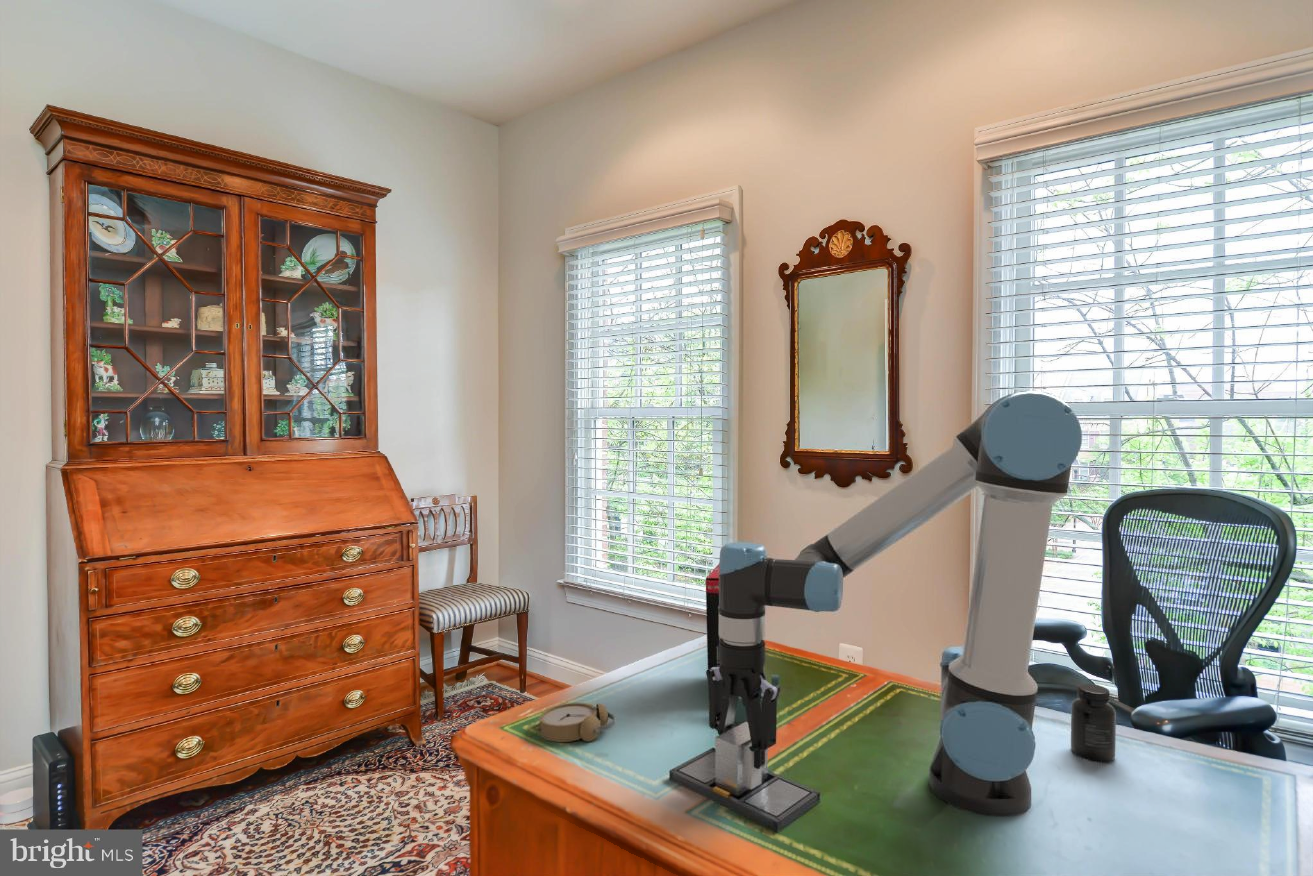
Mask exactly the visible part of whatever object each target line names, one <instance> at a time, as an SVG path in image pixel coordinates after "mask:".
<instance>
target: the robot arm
mask: <svg viewBox="0 0 1313 876" xmlns="http://www.w3.org/2000/svg"><path fill="white" fill-rule="evenodd" d="M1082 442H1083V432H1082V427H1081V423H1080V421H1079V418H1078V417H1077V415H1076V413H1075V412H1074V410H1073V409H1072V408H1071V407H1070V406H1069V404H1067V403H1066V402H1065V401H1063V400H1062V399H1061V398H1059V397H1058V396H1056V395H1053V394H1050V393H1048V392H1044V391H1039V390H1034V389H1033V390H1019V391H1016V392H1011V393H1009V394H1007V395H1004V396H1002V397H1000V398H999V399H997V400H996V401H994V402H993V403H992V404H991V405H989V406H988V407H987V409H986V410H985V411H983V412H982V414H981V415H980V416H979V417H978V418H977V419H976V420H974V421H973V422H972V423H971V424H970V425H969V426H967V428H965V429H964V430H963V431H961V432H960V433H959V434H957V435H955V436H954V437H953V441H952V445H951V447H949V448H948V449H947V450H945V451H944V452H942V453H941V454H939V455H937V457H935V458H934V459H932V460H931V461H929V462H928V463H926V464H925V465H924V466H922V467H920V469H918V470H917V471H915V472H914V473H912V474H911V475H909V476H908V477H906V478H905V479H904V480H903V481H901V482H900V483H897V485H895V486H894V487H892V488H891V489H889V490H888V491H886V492H885V493H884V494H882V495H881V496H879V497H878V498H876V499H875V500H874V501H872V502H871V503H870V504H868V505H867V506H865V507H864V508H862V509H861V510H860V511H858V512H856V513H855V514H854V515H852V516H851V517H850V518H848V519H847V520H845V521H844V522H842V523H840V525H837V527H835V528H834V529H833V530H831V531H830V532H828V534H826V535H824V536H822V537H821V538H820V539H818V540H817V541H815V542H813V543H811V544H809V545H807V546H806V547H805V548H804V549H802V550H801V551H800V553H799V554H798V556H797V557H795V559H784V558H783V559H779V558H772V557H768V555H767V551H766V547H765V546H764V545H763V544H760V543H753V542H750V541H749V542H748V541H746V542H745V541H736V542H729V543H726V544H725V545H723V546H722V547H721V548H720V552H719V562H718V564H719V571H718V575H719V637H720V638H721V639H720V640H719V661H720V663H721V664H720V666H715V667H713V668H710V669H708V668H707V669H706V671H705V675H706V679H707V683H708V682H709V699H708V725H709V727H710V729H712V730H713V729H714V730H716V731H717V734H718V736H719V735H721V734H723V733H725V732H727V731H729V730H731V729H733V728H735V726H734V722H735V721H734V718H735V713H736V708H737V703H738V698H739V697H741V698H742V704H743V705H744V706H745V709H746V715H747V720H748V726H749V732H750V738H751V743H752V746H750V747H749V748H748V788H749V789H751V790H752V789H753V788H755V787H756V786H758V785H760V784H761V768H762V767H764V765H765V750H766V749H769V748H771V747H773V746H774V745H776V744H777V720H778V719H777V715H778V711H777V710H778V708H777V707H778V698H779V697H778V695H779V696H780V692H781V687H780V685H779V686H778V685H774V686H773V685H772V683H770V682H768V681H767V679H766V678H767V677H766V675H765V672H764V666H765V663H766V641H765V638H766V607H767V606H768V607H777V608H787V609H794V610H805V611H810V612H811V611H812V612H815V613H820V612H826V613H827V612H831V613H833V612H837V611H839V610H840V608H841V605H842V601H843V595H844V578H845V577H847V576H848V575H850V574H852V573H853V572H854V571H855V570H856V569H858V568H860V567H861V566H863V565H865V564H866V563H867V562H869V561H870V560H872V559H874V558H875V557H876V556H878V555H880V554H881V553H883V552H884V551H886V550H887V549H889V548H890V547H891V546H893V545H894V544H896V543H898V542H899V541H900V540H902V539H903V538H905V537H906V536H908V535H909V534H911V533H913V532H914V531H916V530H917V529H918V528H920V527H922V526H923V525H925V524H926V523H928V522H929V521H931V520H932V519H933V518H935V517H937V516H938V515H940V514H941V513H942V512H944V511H946V510H947V509H949V508H950V507H952V506H953V505H955V504H956V503H959V501H961V500H962V499H964V498H965V497H967V496H968V495H971V493H973V492H974V491H976V490H977V489H979V488H980V490H981V491H982V492H983V495H984V498H983V506H982V512H981V518H980V519H981V520H980V525H979V531H978V532H979V533H978V539H977V547H976V552H975V553H976V554H975V559H974V560H975V562H974V568H973V575H972V582H971V589H970V597H969V605H968V611H967V615H966V616H967V617H966V625H965V631H964V632H965V633H964V637H963V638H964V639H963V645H962V646H951V647H948V648H945V649H944V650H943V651H942V653H941V659H940V660H941V661H940V663H939V667H940V668H941V669H940V670H941V671H940V672H941V673H940V726H939V727H940V728H939V734H940V739H939V742H938V744H937V747H936V749H935V753H934V755H933V757H932V760H931V761H930V762H931V763H930V766H929V770H928V771H929V773H928V775H929V777H928V779H929V781H928V783H929V786H930V787H929V788H930V790H932V792H933V793H934V794H935V795H936V796H937V797H938V798H939V799H941V800H942V801H944V802H946V803H948V804H949V805H951V806H953V807H956V808H958V809H961V810H964V811H966V812H970V813H973V814H977V815H982V816H992V817H1010V816H1016V815H1019V814H1023V813H1024V812H1026V811H1027V810H1028V809H1029V808H1030V807H1031V805H1032V785H1031V782H1030V779H1029V776H1028V774H1027V773H1028V772H1027V769H1028V768H1029V767H1030V766H1031V764H1032V762H1033V759H1034V756H1035V750H1036V747H1037V746H1036V739H1035V738H1036V736H1035V734H1034V732H1033V723H1034V717H1035V716H1034V714H1035V710H1036V703H1037V702H1036V701H1037V695H1038V687H1039V686H1038V684H1037V682H1036V681H1035V680H1034V678H1033V677H1032V675H1031V674H1029V671H1028V670H1029V666H1030V659H1031V658H1030V657H1031V651H1032V645H1033V637H1034V632H1035V625H1036V619H1037V612H1038V604H1039V599H1040V591H1041V584H1042V579H1043V573H1044V566H1045V558H1046V553H1047V545H1048V537H1049V531H1050V525H1051V518H1052V512H1053V506H1054V505H1055V504H1056V502H1058V501H1060V500H1061V499H1063V498H1065V497H1066V496H1068V489H1069V484H1070V477H1071V472H1072V471H1071V470H1072V465H1073V464H1074V462H1075V460H1076V459H1077V457H1078V456H1079V452H1080V450H1081V447H1082V444H1083V443H1082ZM723 681H724V683H725V686H724V687H723ZM761 688H762V693H761V694H760V689H761ZM761 696H762V697H763V698H762V711H761V706H760V701H761Z"/></svg>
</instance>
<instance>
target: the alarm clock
mask: <svg viewBox="0 0 1313 876" xmlns="http://www.w3.org/2000/svg"><path fill="white" fill-rule="evenodd" d="M609 719H610V720H611V721H610V722H608V721H609ZM539 723H540V725H538V726H536V727H535V726H534V730H535V731H538V730H540V734H541V735H540V736H542V738H543V739H544V740H546V741H550V742H557V743H566V742H574V741H579V740H581V739H582V740H583V741H584V742H592V741H595V740H597V738H598V737H599V735H600V732H603V731H607V730H610V729H611V728H612V727H614V726H615V725H616V716H615V715H614V714H612V713H611V712H609V711H608V709H607V707H606V706H605V705H604V704H603V703H600V702H599V703H598V702H597V703H596V706H594V705H593V704H590V703H587V702H586V703H585V702H568V703H561V704H559V705H555V706H551V707H549V708H547V709H545V710H544V711H543V712H542V713H541V714H540V716H539Z"/></svg>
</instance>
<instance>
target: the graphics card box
mask: <svg viewBox="0 0 1313 876" xmlns="http://www.w3.org/2000/svg"><path fill="white" fill-rule="evenodd" d="M718 571H719V563H718V564H717V565H716V566H715V568H714V569H712V570H711V572H710V573H709V574H708V575H707V576H706V577H705V607H706V610H705V613H706V647H707V650H706V651H707V652H706V653H707V670H708V669H710V668H713V667H715V666H720V664H721V663H720V661H719V640H720V639H721V638H720V637H719V575H718ZM724 686H725V683H724V681H723V687H724ZM707 690H708V691H707V692H708V693H707V694H708V695H707V697H708V700H709V682H708V681H707Z"/></svg>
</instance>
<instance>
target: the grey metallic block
mask: <svg viewBox="0 0 1313 876" xmlns="http://www.w3.org/2000/svg"><path fill="white" fill-rule="evenodd" d="M714 744H715V748H716V786H717V787H719V788H721V789H723V790H725V791H728V792H730V793H732V794H734V795H736V796H739V795H740V794H742V793H744V792H745V791H747V790H748V789H749V788H748V748H749V747H750V746H752V743H751V738H750V732H749V726H748V722H744V723H742V724H740V723H739V725H737V726H734V728H732V729H731V730H729V731H727V732H725V733H723V734H721V735H719V734H718V735H717V736H715V743H714ZM768 749H769V748H768ZM768 749H766V750H765V765H764V767H762V768H761V781H763V780H764V779H766V778H768V771H769V770H768V766H769V765H768V764H769V763H768V761H769V760H768V759H769V758H768V753H769V752H768Z"/></svg>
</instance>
